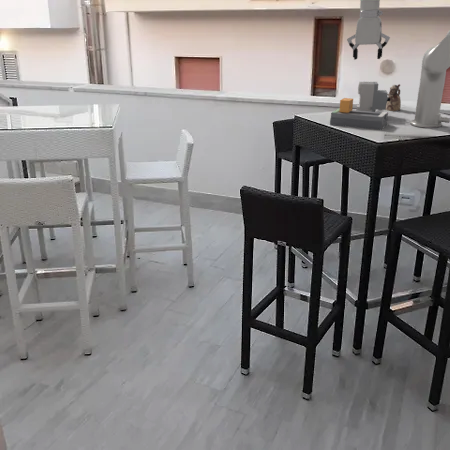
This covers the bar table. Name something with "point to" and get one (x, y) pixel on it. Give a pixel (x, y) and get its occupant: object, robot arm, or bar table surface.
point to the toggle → (346, 105)
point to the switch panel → (358, 123)
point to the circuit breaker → (371, 97)
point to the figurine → (394, 99)
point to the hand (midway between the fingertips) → (367, 59)
